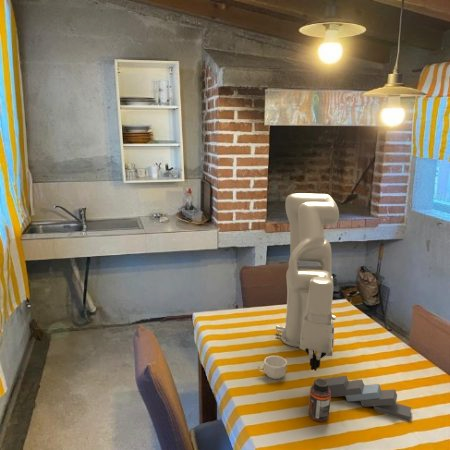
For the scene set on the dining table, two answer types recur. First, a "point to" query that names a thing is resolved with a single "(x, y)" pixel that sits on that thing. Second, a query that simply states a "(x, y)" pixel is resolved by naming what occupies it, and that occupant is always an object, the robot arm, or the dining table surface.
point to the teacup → (274, 366)
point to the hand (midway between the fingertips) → (314, 368)
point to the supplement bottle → (319, 400)
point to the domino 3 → (366, 393)
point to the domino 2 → (350, 389)
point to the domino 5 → (395, 411)
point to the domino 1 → (337, 383)
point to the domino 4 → (382, 399)
